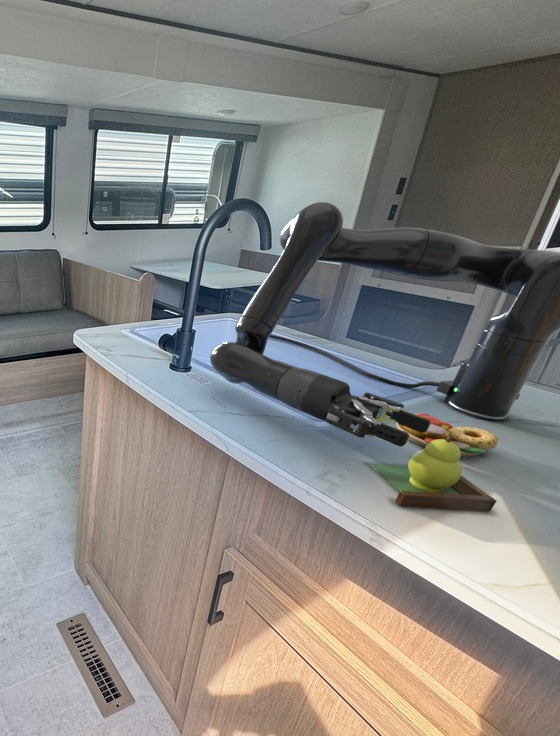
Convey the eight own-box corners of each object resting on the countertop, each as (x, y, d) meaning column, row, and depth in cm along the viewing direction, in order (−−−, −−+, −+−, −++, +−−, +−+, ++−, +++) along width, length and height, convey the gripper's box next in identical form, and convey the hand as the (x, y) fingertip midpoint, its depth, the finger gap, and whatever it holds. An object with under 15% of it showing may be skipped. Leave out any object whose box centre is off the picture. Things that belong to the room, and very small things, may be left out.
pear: (391, 475, 68) (414, 427, 64) (421, 472, 69) (444, 424, 66) (430, 500, 63) (456, 449, 59) (460, 495, 64) (489, 445, 60)
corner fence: (345, 455, 73) (349, 445, 72) (421, 459, 73) (426, 450, 72) (399, 506, 61) (405, 495, 61) (490, 511, 61) (497, 500, 60)
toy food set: (501, 453, 76) (510, 438, 75) (460, 468, 71) (469, 451, 70) (418, 418, 87) (424, 404, 86) (378, 429, 82) (384, 414, 81)
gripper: (296, 381, 73) (409, 423, 60) (337, 367, 80) (445, 402, 68) (284, 419, 76) (389, 467, 63) (324, 403, 83) (425, 442, 71)
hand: (417, 433), depth 66 cm, fingers open, 8 cm apart
